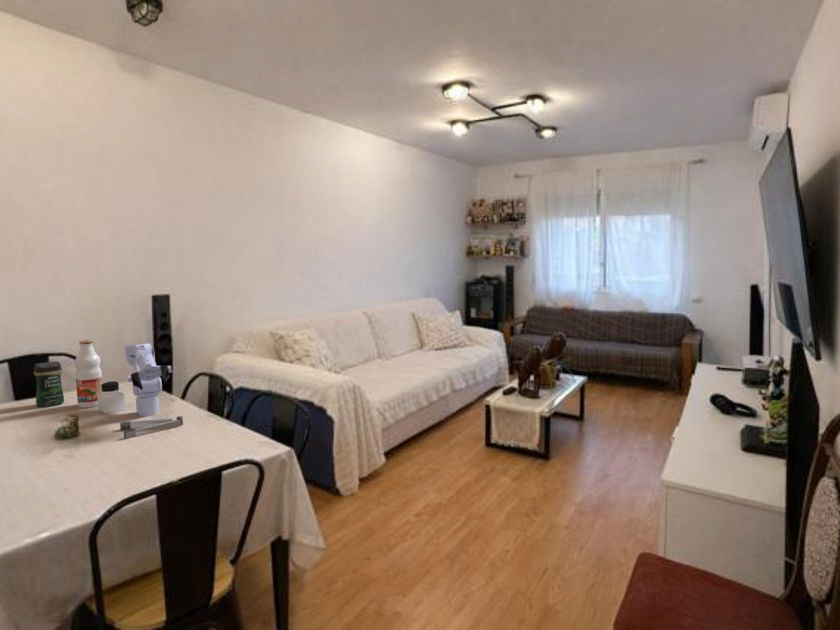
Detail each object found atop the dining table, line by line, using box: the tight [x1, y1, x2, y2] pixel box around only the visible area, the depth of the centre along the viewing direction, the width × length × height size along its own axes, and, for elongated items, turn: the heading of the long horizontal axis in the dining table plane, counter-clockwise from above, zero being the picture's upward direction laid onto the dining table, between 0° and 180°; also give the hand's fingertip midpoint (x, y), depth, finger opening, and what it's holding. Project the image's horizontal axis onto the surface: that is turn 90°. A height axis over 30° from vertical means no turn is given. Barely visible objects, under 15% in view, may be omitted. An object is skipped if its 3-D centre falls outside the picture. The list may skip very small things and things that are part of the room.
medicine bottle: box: [97, 380, 126, 415], centre depth 206 cm, size 7×7×12 cm
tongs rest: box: [123, 415, 184, 440], centre depth 180 cm, size 18×22×4 cm
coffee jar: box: [33, 360, 65, 408], centre depth 213 cm, size 10×8×19 cm
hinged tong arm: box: [119, 417, 174, 431], centre depth 182 cm, size 17×2×2 cm, turn 106°
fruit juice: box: [74, 339, 104, 409], centre depth 212 cm, size 9×9×28 cm
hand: (153, 384), depth 180 cm, fingers open, 7 cm apart
